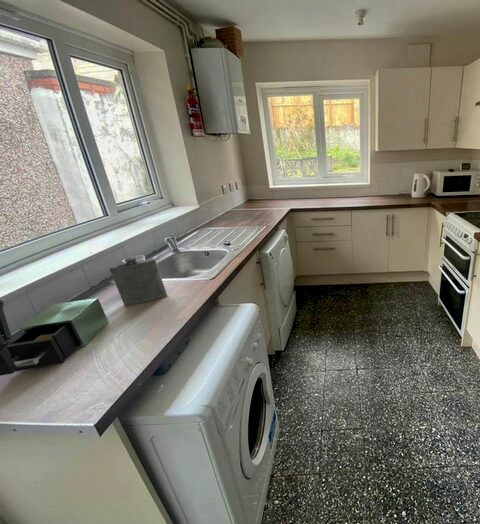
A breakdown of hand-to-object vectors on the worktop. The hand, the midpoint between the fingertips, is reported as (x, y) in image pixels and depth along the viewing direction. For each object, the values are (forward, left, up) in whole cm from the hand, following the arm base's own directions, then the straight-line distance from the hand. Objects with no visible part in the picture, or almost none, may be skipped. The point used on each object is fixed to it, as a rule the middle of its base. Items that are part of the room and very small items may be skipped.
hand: (8, 372), depth 69 cm
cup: (+5, +60, -6) cm, 60 cm away
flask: (+13, +42, -6) cm, 44 cm away
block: (0, +12, -3) cm, 13 cm away
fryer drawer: (0, +11, -5) cm, 12 cm away
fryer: (0, +22, -5) cm, 22 cm away
